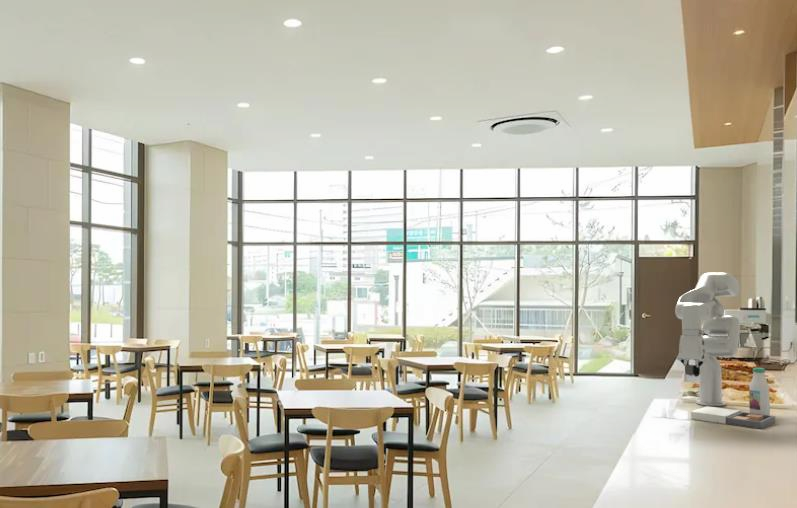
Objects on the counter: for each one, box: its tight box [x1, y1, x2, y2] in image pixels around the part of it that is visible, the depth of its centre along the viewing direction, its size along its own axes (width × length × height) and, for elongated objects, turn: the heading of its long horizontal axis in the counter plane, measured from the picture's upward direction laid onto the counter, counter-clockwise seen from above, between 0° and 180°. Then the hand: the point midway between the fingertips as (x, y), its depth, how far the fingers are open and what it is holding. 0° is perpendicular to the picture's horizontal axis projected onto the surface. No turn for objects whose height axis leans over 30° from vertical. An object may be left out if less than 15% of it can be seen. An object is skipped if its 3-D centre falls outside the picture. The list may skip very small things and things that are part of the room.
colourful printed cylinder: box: [748, 367, 771, 416], centre depth 307 cm, size 8×8×20 cm
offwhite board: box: [690, 405, 741, 424], centre depth 301 cm, size 16×14×3 cm
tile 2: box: [746, 414, 764, 422], centre depth 293 cm, size 5×5×2 cm
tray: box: [726, 411, 776, 430], centre depth 291 cm, size 16×13×2 cm
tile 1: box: [733, 416, 750, 420], centre depth 289 cm, size 5×5×2 cm
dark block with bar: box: [683, 364, 700, 383], centre depth 308 cm, size 15×3×7 cm, turn 137°
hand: (692, 375), depth 308 cm, fingers closed on dark block with bar, 3 cm apart
